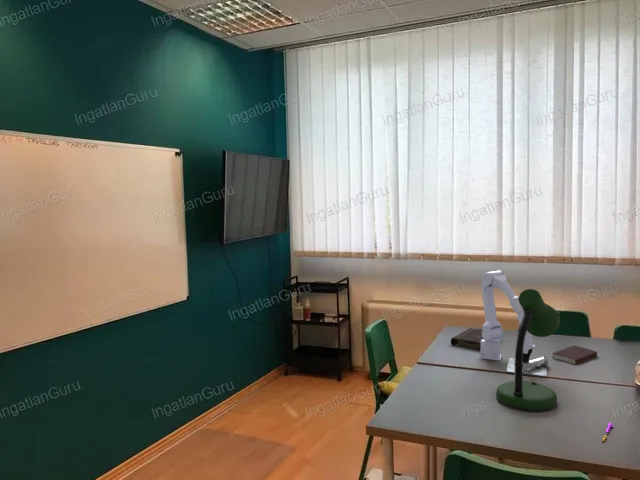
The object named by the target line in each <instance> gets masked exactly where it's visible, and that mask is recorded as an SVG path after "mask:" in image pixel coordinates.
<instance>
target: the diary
mask: <svg viewBox="0 0 640 480" xmlns="http://www.w3.org/2000/svg"><path fill="white" fill-rule="evenodd" d="M481 339H483V337H482V328H476V327H475V328H474V327H470V328H468V329H466V330H465V331H462V332H460V333H458V334H457V335H455V336H453V337H451V338H450V345H451V346H453V345H455V346H459V347H465V348H467V349H471V350H476V351H480V350H481Z"/></svg>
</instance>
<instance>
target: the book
mask: <svg viewBox="0 0 640 480" xmlns="http://www.w3.org/2000/svg"><path fill="white" fill-rule="evenodd" d="M597 356H598V352H597V351H595V350H592V349H589V348H587V347H583V346H578V345H572V346H571V345H570V346H568V347H565V348H563V349H560V350H558V351H555V352H552V357H551V358H552V359H556V360H560V361H563V362H566V363H570V364H575V365H577V364H580V363H582V361H583V362H585V361H588V360H590V358H591V359H593V358H596V357H597ZM587 359H588V360H587Z"/></svg>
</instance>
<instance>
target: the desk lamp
mask: <svg viewBox="0 0 640 480" xmlns="http://www.w3.org/2000/svg"><path fill="white" fill-rule="evenodd" d="M518 297H519V303H520V305H521V307H522V309H523V310H524V315H523V319H522V321H521V324H520V325H519V327H518V331H517V334H516V342H515V346H514V347H515V348H514V358H515V370H514V371H515V372H514V373H515V374H513V375H514V380H511V381H507V382H506V381H505V382H503V383H501V384H500V385H498V387H497V389H496V391H495V394H496V395H495V399H496V401H497V402H498V403H499V404H501V405H503V406H505V407H507V408H510V409H513V410H516V411H520V412H526V413H536V414H537V413H546V412H550V411H552V410H555V408H556V407H557V406H558V397H557V394H556V392H555V391H554V390H553V388H550V387H548V386H547V385H544V384H541V383H538V382H536V381H528V380H524V378H523V377H524V375H523V349H524V348H523V347H524V346H523V345H524V344H523V343H525V342H524V341H525V340H524V339H525V338H524V337H526V332H527V331H528V332H529V333H530V334H532V335H533V336H534V337H540V338H546V337H549V336H551V335H553V334H555V332H557V330H558V329H559V327H560V323H561V319H560V315H559V314H558V312H557V310H556V309H555V308H554V307H552V306H551V305H549V304H548V303H545V301H544V299H543V297H542V295H541V293H540V292H539V291H538V290H537V289H533V288H526V289H524V290H523V291H521V292H520V293H519V295H518Z"/></svg>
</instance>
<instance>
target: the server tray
mask: <svg viewBox="0 0 640 480" xmlns="http://www.w3.org/2000/svg"><path fill="white" fill-rule="evenodd" d="M531 360H532V359H529V361H531ZM547 365H548V363H544V364H541V365H538V366H535V367H532V368H529V369H526V370H525V369H523V376H528V377H539V378H547V376H548V375H547V374H548V370H547V369H548V368H547ZM514 370H515V357H509V358H508V363H507V367H506V374H513V375H514V374H515V373H514V372H515V371H514Z"/></svg>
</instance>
